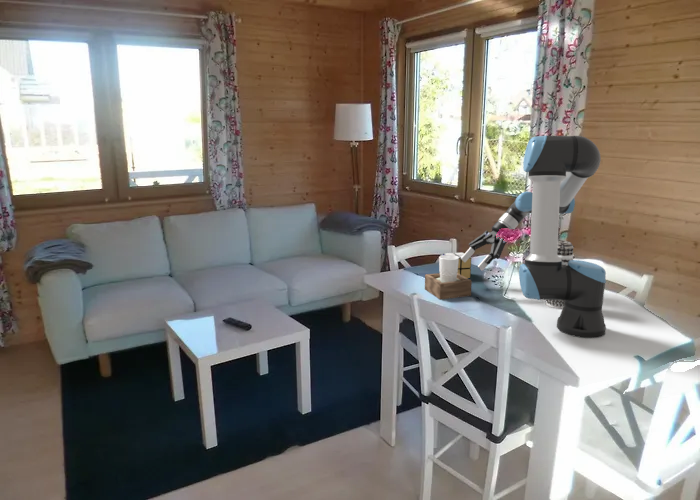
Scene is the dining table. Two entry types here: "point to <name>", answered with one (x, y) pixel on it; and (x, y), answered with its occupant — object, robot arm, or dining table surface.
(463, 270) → the puzzle cube
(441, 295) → the wooden box
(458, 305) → the dining table surface
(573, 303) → the robot arm
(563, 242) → the decorative candle
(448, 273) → the white cup
